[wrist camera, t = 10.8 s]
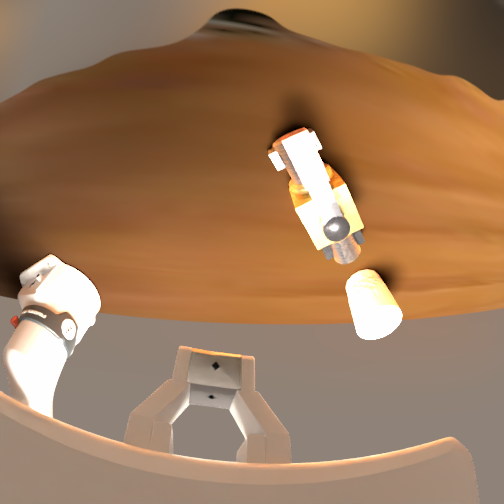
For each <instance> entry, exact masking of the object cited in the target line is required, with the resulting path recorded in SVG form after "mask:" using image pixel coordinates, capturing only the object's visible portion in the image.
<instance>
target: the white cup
mask: <svg viewBox="0 0 504 504" xmlns="http://www.w3.org/2000/svg"><path fill="white" fill-rule="evenodd" d="M346 291H347V295H348V299H349V305H350V308H351V313H352V316H353V320H354V323H355V327H356V331H357V334H358V335H359V336H360V337H361V338H363V339H369V340H371V339H378V338H381V337H384V336H386V335H387V334H389V333H391V332H392V331H393V330H394V329H395V328H396V327H397V326H398V325H399V323H400V321H401V319H402V312H401V310H400V308H399V307H398V305H397V303H396V301H395V300H394V298H393V296H392V294H391V293H390V291H389V290H388V288H387V286H386V285H385V283H384V282H383V281H382V279H381V277H380V276H379V274H377V273H376V272H375V271H374V270H369V269H365V270H361V271H358V272H356V273H355V274H353V275H352V276H351V277H350V278H349V280H348V281H347V284H346Z"/></svg>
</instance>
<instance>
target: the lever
mask: <svg viewBox="0 0 504 504" xmlns="http://www.w3.org/2000/svg"><path fill="white" fill-rule="evenodd" d="M280 139H281V141H282V143H283V145H284V147H285V149H286V151H287V153H288V155H289V157H290V159H291V161H292V163H293V165H294V167H295V169H296V171H297V173H298V175H299V177H300V179H301V181H302V183H303V185H304V187H305V189H306V191H309V193H310V195H311V198H312V200H313V202H314V204H315V206H316V208H317V211H318V213H319V215H320V217H321V219H322V222H321V227H322V230H323V232H324V235H325V237H326V238H327V239H328V240H330V241H333V242H338V241H341V240H343V239H345V238H346V237H347V236H348V234H349V232H350V224H349V222H348V220H347V219H346V217H345V216H344V214H342V213H341V211H340V208H339V206H338V203H337V201H336V198H335V196H334V193H333V191H332V189H331V186H330V184H329V181H330V179H329V176H328V174H327V172H326V169H325V167H324V165H323V163H322V160H321V158H320V156H319V154H318V152H317V149H316V147H315V145H314V143H313V141H312V139H311V137H310V135H309V133H308V130H307V129H306V128H305V127H304V128H301V129H299V130H297V131H295V132H293V133H291V134H288V135H286V136H284V137H282V138H280Z"/></svg>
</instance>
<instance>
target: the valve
mask: <svg viewBox="0 0 504 504" xmlns="http://www.w3.org/2000/svg"><path fill="white" fill-rule="evenodd" d="M298 130H299V129H298ZM307 130H308V133H309V135H310V137H311V139H312V141H313V143H314V145H315V147H316V149H317V151H318V150H320V149H322V146H321V144H320V142H319V140H318V138H317V136H316V134H315V132H314V131H313V130H311V129H310V128H309V129H307ZM295 131H297V130H294V131H292V132H290V133H287V134H285V135H284V136H286V135H288V134H291V133H293V132H295ZM284 136H282V137H284ZM282 137H280V138H282ZM280 138H279V139H277V140H276V141H275V142H274V143H273V145H272V146H273V147H272V148H271V149H269V150H268V154H269V156H270V158H271V160H272V161H273V163H274V165H275V166H276V168H277V170H278V171H279V170H281V169H283V168H286V169H287V171H288V173H289V175H290V176H291V178H292V179H291V180H290V182H289V187H290V188H289V191H290V194H291V197H292V201H293V204H294V207H295V210H296V211H297V213H298V215H299V217H300V218H301V220H302V222H303V224H304V226H305V227H306V229H307V231H308V233H309V235H310V236H311V238H312V240H313V242H314V244H315V246H316V247H317V249H318V250H319V249H321V248H322V250H323V252H324V254H325V256H326V258H327V260H329V259H331V258H333V257H334V259H335V261H336V262H337V263H339V264H348V263H351V262H353V261H354V260H356V259H357V258H358V257H359V255H360V253H361V249H360V246H359V245H360V244H362V243H364V242H365V241H364V239H363V236H362V234H361V231H360V229H362V228H364V226H363V224H362V221H361V219H360V216H359V214H358V212H357V209H356V207H355V204H354V202H353V200H352V197H351V195H350V193H349V191H348V188H347V186H346V184H345V182H344V181H343V180H342V179H341V178H340V176H339V175H338V174H337V173H336V172H335V171H334V169H333V168H332V167H330V166H329V165H328V164H325V163H323V165H324V167H325V169H326V172H327V174H328V176H329V179H330V181H329V184H330V186H331V189H332V191H333V193H334V196H335V198H336V201H337V203H338V206H339V208H340V211H341V213H342V214H344V216H345V217H346V219H347V220H348V222H349V224H350V232H349V234H348V236H347V237H346V238H345V239H343V240H341V241H338V242H333V241H330V240H328V239H327V238H326V237H325V235H324V232H323V230H322V227H321V222H322V219H321V217H320V215H319V213H318V211H317V208H316V206H315V204H314V202H313V200H312V198H311V195H310V193H309V191H306V189H305V187H304V185H303V183H302V181H301V179H300V177H299V175H298V173H297V171H296V169H295V167H294V165H293V163H292V161H291V159H290V157H289V155H288V153H287V151H286V149H285V147H284V145H283V143H282V141H281V139H280Z"/></svg>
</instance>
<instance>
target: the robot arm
mask: <svg viewBox="0 0 504 504" xmlns="http://www.w3.org/2000/svg"><path fill="white" fill-rule="evenodd" d="M20 281H21V284H22V289H21V290H20V292H19V293H18V301H19V304H20V307H21V309H22V312H21V314H20V318H19V319H18V317H17V316H14V317H13V318H12V319H11V324H12V325H14V327H15V329H16V330H15V331H14V333H13V335H12V336H11V338H10V340H9V341H8V343H7V345H6V347H5V349H4V351H3V356H2V362H3V367H4V370H5V373H6V375H7V377H8V381H9V387H10V397H9V396H7V395H5V394H4V393H3V392H2V391H0V504H479V495H478V487H477V480H476V474H475V469H474V464H473V460H472V457H471V455H470V452H469V451H468V450H467V449H466V448H465V447H464V446H463V445H462V444H461V443H460V442H459V441H458V440H456V439H455V438H453V437H446V438H443V439H440V440H437V441H433V442H430V443H427V444H423V445H419V446H415V447H412V448H407V449H403V450H398V451H394V452H389V453H384V454H379V455H373V456H368V457H361V458H354V459H346V460H337V461H327V462H314V463H291V449H290V434H289V433H288V432H287V430H286V429H285V428H284V427H283V425H282V424H281V422H280V421H279V420H278V418H277V417H276V416H275V414H274V413H273V412H272V410H271V409H270V407H269V406H268V405H267V403H266V402H265V400H264V399H263V398H262V396H261V395H260V394H259V392H255V359H254V357H252V356H242V355H237V354H229V353H221V352H212V351H206V350H200V349H195V348H190V347H184V346H180V347H179V349H178V353H177V358H176V363H175V368H174V373H173V378H172V380H167V381H166V382H165V383H164V384H163V385H162V386H161V387H159V388H158V389H157V390H156V391H155V392H154V393H153V394H152V395H150V396H149V397H148V398H147V399H146V400H145V401H144V402H143V403H141V404H140V405H139V406H138V407H137V408H136V409H135V410H133V411H132V412H131V413H130V417H129V421H128V425H127V429H126V433H125V438H124V442H123V443H122V442H118V441H115V440H111V439H108V438H105V437H102V436H99V435H95V434H93V433H90V432H87V431H84V430H81V429H79V428H76V427H73V426H71V425H68V424H66V423H63V422H61V421H58V420H56V419H54V418H53V395H54V390H55V387H56V383H57V381H58V378H59V375H60V373H61V370H62V368H63V365H64V363H65V361H66V360H68V359H69V357H70V355H71V354H72V352H73V349H74V347H75V345H76V344H78V343H79V341H80V340H81V338H82V336H83V335H84V333H85V332H86V330H87V328H88V327H89V326H92V325H93V324H94V322H95V315H96V314H97V312H98V311H99V309H100V305H101V302H100V297H99V294H98V292H97V290H96V288H95V287H94V285H93V284H92V283H91V282H90V280H89V279H88V278H87V277H86V276H85V275H83V274H82V273H81V272H80V271H78V270H76V269H75V268H73V267H71V266H69V265H66V264H64V263H63V262H61V261H60V260H59V259H58V258H57V257H55V256H54V255H51V254H50V255H48V256H47V257H45V258H43V259H42V260H40V261H39V262H37V263H35V264H34V265H32V266H31V267H29V268H28V269H26V270H25V271H23V272H22V273H21V274H20ZM189 404H195V405H203V406H211V407H217V408H224V409H230V412H231V414H232V415H233V417H234V419H235V421H236V423H237V424H238V426H239V428H240V429H241V431H242V433H243V435H244V437H245V438H246V439H245V441H244V442H243V444H242V445H241V447H240V448H239V450H238V451H237V458H236V462H227V461H216V460H207V459H200V458H192V457H186V456H180V455H174V454H173V447H174V441H173V430H172V426H171V424H172V423H173V422H174V421H175V420H176V419H177V417H178V416H179V415H180V414H181V413H182V412H183V411H184V410H185V409H186V407H187V406H188V405H189Z"/></svg>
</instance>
